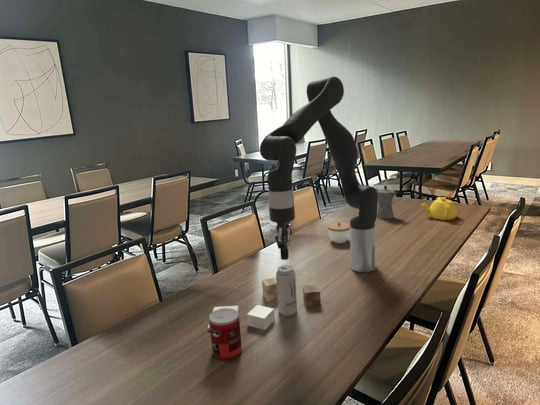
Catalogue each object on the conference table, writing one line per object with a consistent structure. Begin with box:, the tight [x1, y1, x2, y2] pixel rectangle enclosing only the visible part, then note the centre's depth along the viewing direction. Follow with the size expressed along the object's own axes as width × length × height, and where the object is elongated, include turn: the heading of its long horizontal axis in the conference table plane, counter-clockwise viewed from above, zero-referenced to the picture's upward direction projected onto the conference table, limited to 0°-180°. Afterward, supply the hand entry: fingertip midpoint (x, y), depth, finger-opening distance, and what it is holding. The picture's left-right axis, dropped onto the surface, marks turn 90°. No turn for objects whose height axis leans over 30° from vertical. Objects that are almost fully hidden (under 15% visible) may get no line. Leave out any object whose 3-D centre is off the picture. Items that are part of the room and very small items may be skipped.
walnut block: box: [302, 284, 322, 308], centre depth 126 cm, size 5×5×5 cm
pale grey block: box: [246, 304, 276, 331], centre depth 116 cm, size 6×6×4 cm
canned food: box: [208, 308, 243, 361], centre depth 102 cm, size 8×8×11 cm
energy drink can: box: [275, 264, 298, 317], centre depth 120 cm, size 6×6×15 cm
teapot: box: [421, 196, 458, 221], centre depth 206 cm, size 20×18×11 cm
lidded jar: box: [327, 222, 350, 244], centre depth 180 cm, size 11×11×9 cm
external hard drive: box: [207, 305, 240, 332], centre depth 120 cm, size 2×8×12 cm
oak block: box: [261, 276, 278, 303], centre depth 131 cm, size 5×5×6 cm
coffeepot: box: [375, 185, 398, 220], centre depth 213 cm, size 15×9×18 cm, turn 44°
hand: (284, 258), depth 117 cm, fingers closed
